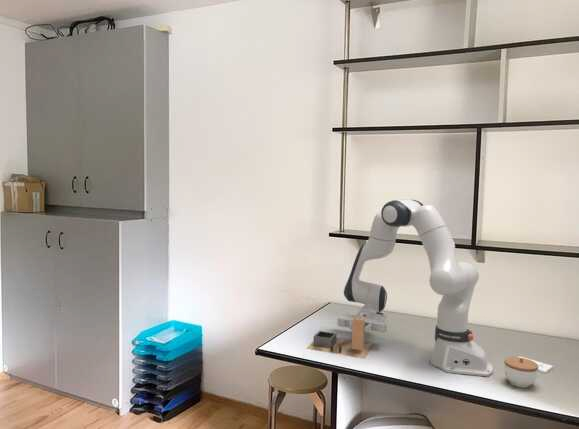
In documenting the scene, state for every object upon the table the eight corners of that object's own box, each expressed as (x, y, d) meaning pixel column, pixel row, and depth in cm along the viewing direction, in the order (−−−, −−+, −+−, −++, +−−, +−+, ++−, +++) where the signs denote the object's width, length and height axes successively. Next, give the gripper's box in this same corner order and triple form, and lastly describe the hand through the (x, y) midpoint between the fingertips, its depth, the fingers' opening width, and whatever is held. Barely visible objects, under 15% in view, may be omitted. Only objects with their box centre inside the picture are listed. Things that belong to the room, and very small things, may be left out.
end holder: (336, 342, 203) (336, 333, 202) (331, 348, 196) (331, 339, 195) (319, 339, 205) (319, 330, 205) (313, 345, 198) (313, 336, 198)
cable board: (373, 346, 202) (374, 338, 202) (364, 361, 186) (364, 352, 186) (319, 337, 211) (319, 330, 211) (305, 350, 195) (306, 342, 195)
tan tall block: (364, 346, 194) (365, 312, 193) (361, 350, 191) (362, 315, 189) (354, 345, 196) (355, 311, 194) (351, 348, 192) (352, 314, 191)
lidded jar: (540, 384, 170) (542, 358, 170) (530, 393, 163) (532, 366, 162) (509, 374, 178) (511, 350, 177) (498, 383, 170) (500, 357, 169)
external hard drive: (519, 359, 194) (553, 369, 185) (511, 365, 189) (545, 375, 180) (520, 355, 194) (553, 365, 185) (511, 361, 188) (546, 371, 180)
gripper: (342, 308, 208) (333, 317, 195) (390, 314, 200) (383, 324, 188) (341, 323, 208) (332, 332, 196) (389, 329, 201) (383, 340, 188)
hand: (358, 328), depth 192 cm, fingers closed on tan tall block, 4 cm apart
